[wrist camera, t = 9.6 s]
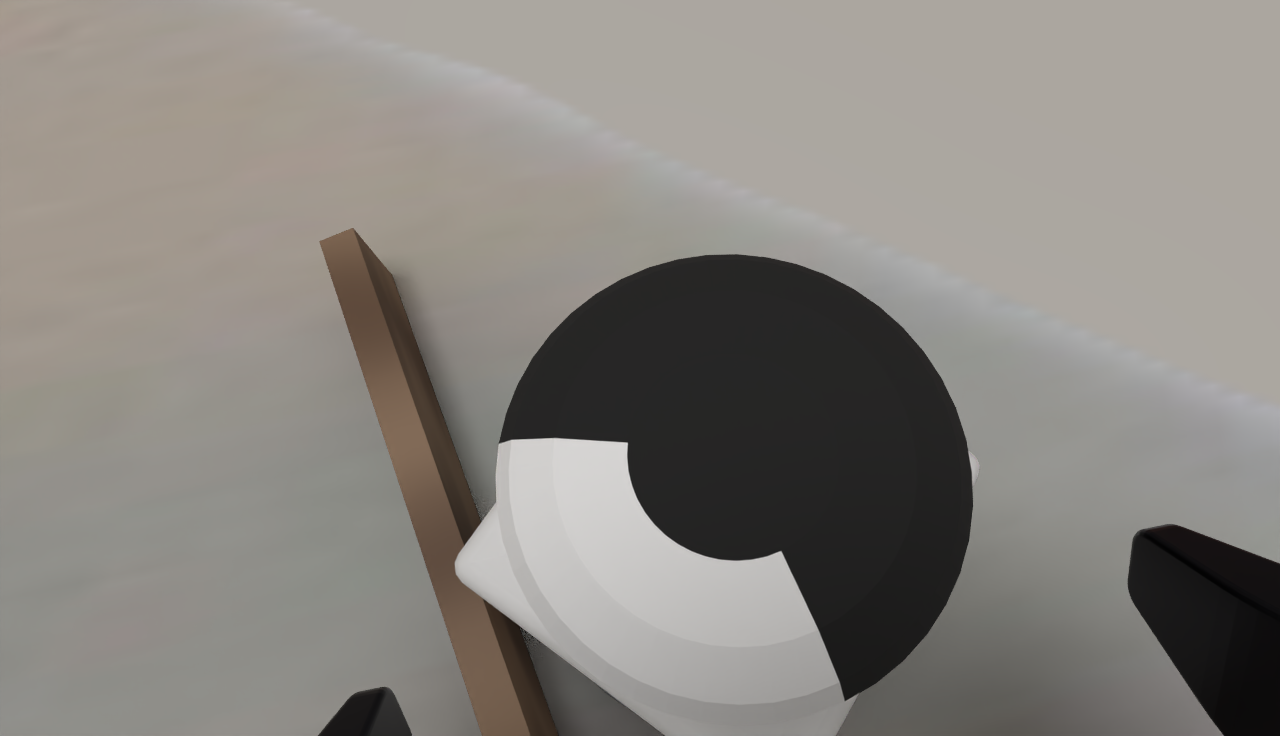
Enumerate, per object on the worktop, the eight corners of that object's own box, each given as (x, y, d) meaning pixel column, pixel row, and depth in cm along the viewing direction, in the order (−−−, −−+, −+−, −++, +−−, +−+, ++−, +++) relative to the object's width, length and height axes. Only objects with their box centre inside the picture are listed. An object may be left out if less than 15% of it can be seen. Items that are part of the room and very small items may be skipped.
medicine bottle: (670, 378, 22) (650, 107, 11) (892, 515, 20) (1150, 369, 9) (522, 590, 20) (312, 535, 9) (752, 760, 19) (852, 957, 7)
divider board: (642, 970, 18) (634, 1033, 15) (604, 989, 18) (588, 1057, 15) (391, 274, 24) (352, 227, 21) (362, 287, 24) (319, 241, 21)
